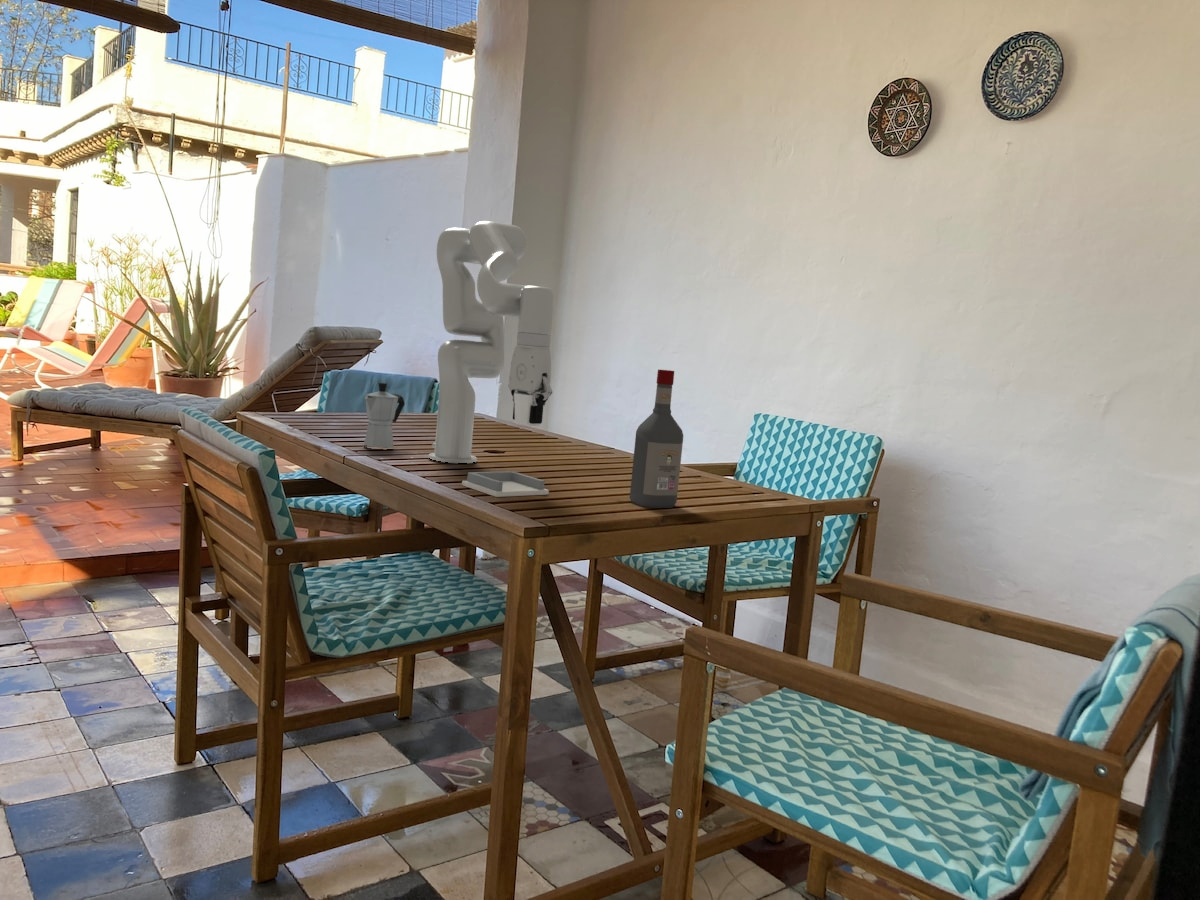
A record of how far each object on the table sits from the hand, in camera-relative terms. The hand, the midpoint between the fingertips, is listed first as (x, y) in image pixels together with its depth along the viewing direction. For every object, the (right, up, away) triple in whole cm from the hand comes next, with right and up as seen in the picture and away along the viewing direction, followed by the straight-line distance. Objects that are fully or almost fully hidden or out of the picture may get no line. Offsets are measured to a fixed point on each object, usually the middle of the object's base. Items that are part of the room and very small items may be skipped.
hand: (527, 420), depth 213 cm
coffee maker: (-44, -6, +46) cm, 64 cm away
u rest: (-5, -16, -2) cm, 16 cm away
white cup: (0, -1, 0) cm, 1 cm away
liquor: (+28, -19, -3) cm, 34 cm away
